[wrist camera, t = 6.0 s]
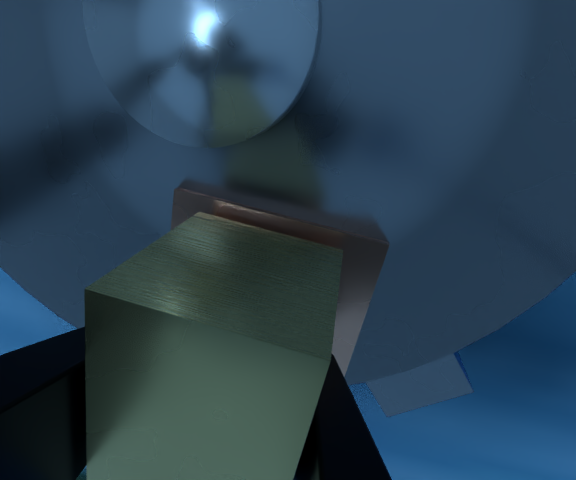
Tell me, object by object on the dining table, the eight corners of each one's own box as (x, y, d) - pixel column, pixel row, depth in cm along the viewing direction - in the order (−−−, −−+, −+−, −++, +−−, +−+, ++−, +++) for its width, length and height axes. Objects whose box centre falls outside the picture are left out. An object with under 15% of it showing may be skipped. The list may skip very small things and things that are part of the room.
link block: (297, 405, 10) (263, 571, 7) (180, 369, 11) (87, 507, 7) (343, 249, 9) (330, 361, 5) (199, 211, 9) (84, 288, 5)
